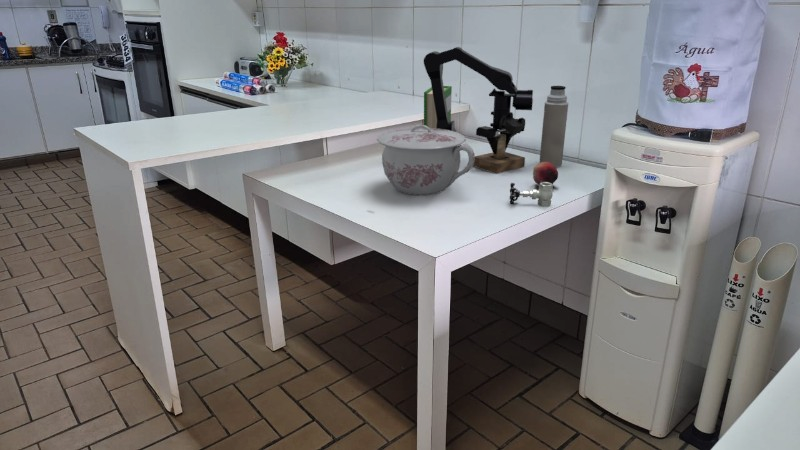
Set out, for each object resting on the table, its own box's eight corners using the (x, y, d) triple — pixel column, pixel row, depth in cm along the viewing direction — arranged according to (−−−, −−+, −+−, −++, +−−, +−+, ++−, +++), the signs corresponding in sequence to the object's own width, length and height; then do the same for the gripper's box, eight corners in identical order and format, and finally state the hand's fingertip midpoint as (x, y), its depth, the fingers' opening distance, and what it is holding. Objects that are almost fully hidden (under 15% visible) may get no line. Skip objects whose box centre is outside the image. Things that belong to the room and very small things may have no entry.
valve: (549, 201, 164) (509, 200, 165) (552, 180, 161) (510, 179, 163) (552, 209, 158) (510, 208, 159) (555, 187, 155) (512, 186, 157)
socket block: (496, 173, 190) (497, 163, 189) (472, 166, 199) (473, 156, 198) (524, 166, 198) (525, 157, 196) (500, 159, 207) (500, 150, 205)
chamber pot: (367, 181, 183) (365, 119, 175) (442, 172, 192) (443, 113, 184) (396, 209, 159) (395, 138, 151) (480, 197, 168) (483, 130, 160)
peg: (498, 162, 195) (500, 137, 192) (490, 159, 198) (492, 135, 195) (506, 160, 197) (508, 135, 194) (498, 157, 200) (500, 133, 197)
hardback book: (442, 155, 213) (443, 92, 204) (423, 154, 215) (424, 92, 206) (450, 144, 229) (451, 86, 220) (432, 143, 231) (433, 85, 222)
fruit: (547, 182, 181) (549, 158, 178) (561, 188, 175) (564, 164, 172) (527, 184, 179) (529, 160, 176) (541, 191, 172) (543, 167, 169)
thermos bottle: (537, 161, 205) (544, 84, 194) (559, 161, 204) (567, 84, 193) (540, 167, 197) (548, 87, 187) (563, 167, 196) (572, 87, 186)
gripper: (499, 116, 180) (496, 162, 186) (538, 109, 190) (534, 153, 196) (476, 111, 188) (474, 155, 194) (514, 105, 198) (511, 147, 204)
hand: (499, 153), depth 197 cm, fingers closed on peg, 4 cm apart
